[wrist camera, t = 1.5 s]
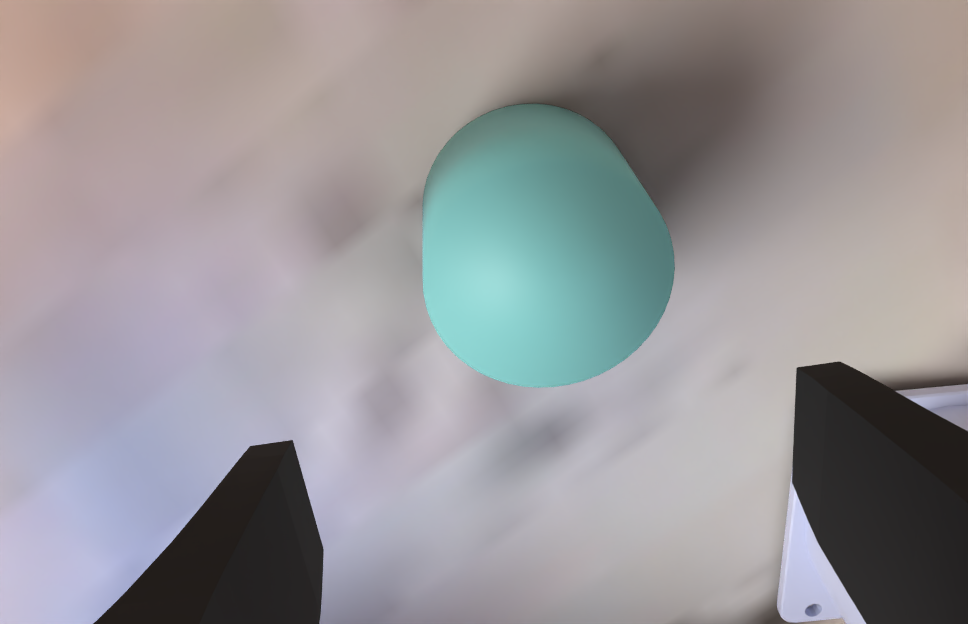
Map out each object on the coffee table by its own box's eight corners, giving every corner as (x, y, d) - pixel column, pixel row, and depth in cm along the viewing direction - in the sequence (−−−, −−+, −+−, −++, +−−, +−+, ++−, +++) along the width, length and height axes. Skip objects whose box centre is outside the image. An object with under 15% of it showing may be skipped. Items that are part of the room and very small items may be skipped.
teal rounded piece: (632, 93, 20) (678, 146, 16) (631, 291, 22) (671, 375, 19) (411, 113, 20) (409, 171, 16) (433, 310, 22) (436, 397, 19)
